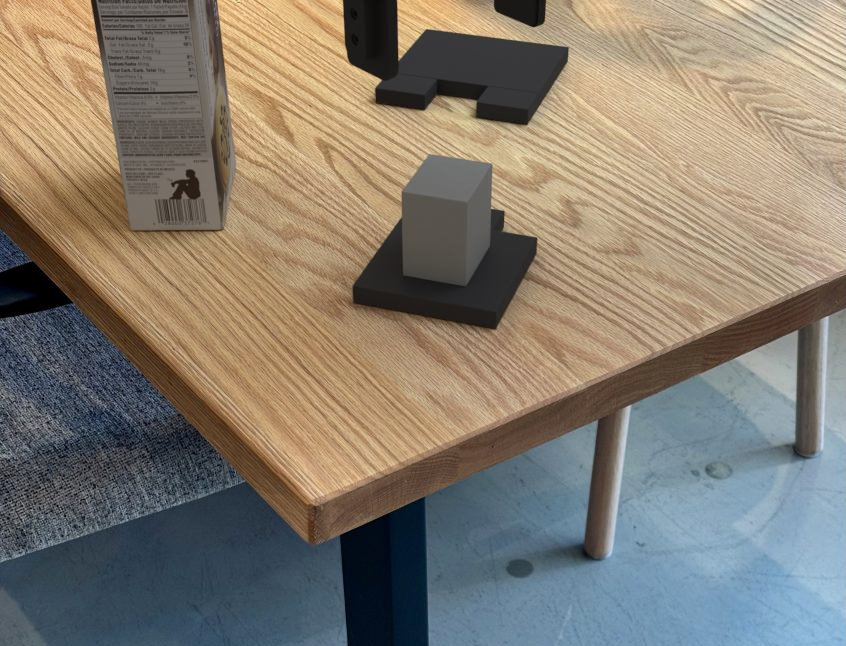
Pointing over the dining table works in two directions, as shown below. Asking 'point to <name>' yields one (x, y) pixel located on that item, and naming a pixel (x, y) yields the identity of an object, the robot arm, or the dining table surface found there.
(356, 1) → the robot arm
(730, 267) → the dining table surface
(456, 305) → the grey post on plate
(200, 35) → the coffee box
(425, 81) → the base pad
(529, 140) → the dining table surface
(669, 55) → the dining table surface
